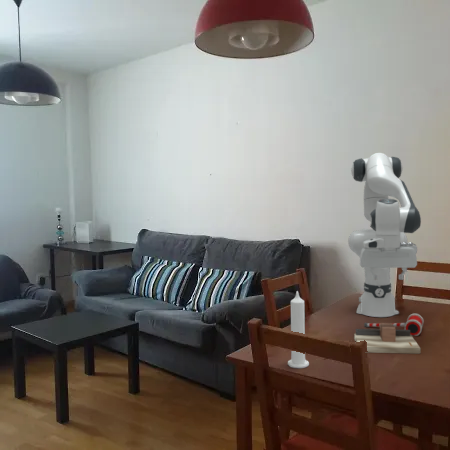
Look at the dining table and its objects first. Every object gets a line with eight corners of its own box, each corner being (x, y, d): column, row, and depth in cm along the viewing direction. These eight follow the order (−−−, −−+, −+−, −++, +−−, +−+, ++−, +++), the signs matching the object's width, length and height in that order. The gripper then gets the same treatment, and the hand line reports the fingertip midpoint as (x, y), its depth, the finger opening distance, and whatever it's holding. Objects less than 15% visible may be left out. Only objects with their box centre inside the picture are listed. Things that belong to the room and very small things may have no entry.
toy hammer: (361, 331, 203) (361, 316, 202) (366, 323, 213) (366, 309, 213) (421, 337, 193) (421, 321, 193) (423, 329, 204) (423, 314, 203)
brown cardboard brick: (379, 335, 189) (379, 322, 188) (392, 336, 188) (392, 323, 188) (382, 341, 182) (382, 328, 182) (395, 341, 181) (395, 328, 181)
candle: (306, 360, 170) (305, 288, 168) (310, 368, 163) (310, 293, 161) (286, 361, 170) (285, 289, 168) (289, 368, 163) (288, 294, 161)
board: (354, 338, 193) (354, 328, 193) (410, 339, 190) (410, 329, 189) (359, 352, 177) (359, 341, 177) (420, 353, 174) (420, 342, 174)
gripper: (415, 241, 185) (415, 278, 186) (359, 242, 188) (359, 278, 189) (419, 243, 179) (419, 281, 180) (361, 243, 182) (361, 280, 183)
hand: (388, 279), depth 185 cm, fingers open, 8 cm apart
